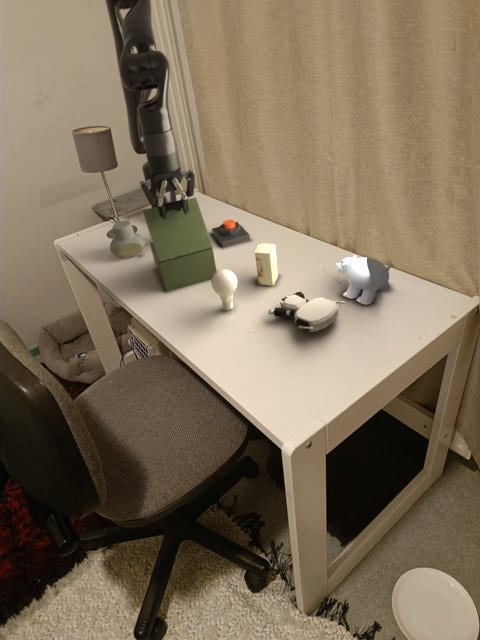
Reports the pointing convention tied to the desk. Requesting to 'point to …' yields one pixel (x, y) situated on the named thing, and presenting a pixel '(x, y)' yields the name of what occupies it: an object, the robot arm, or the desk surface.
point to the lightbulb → (225, 286)
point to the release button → (229, 224)
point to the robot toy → (307, 311)
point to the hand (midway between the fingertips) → (174, 215)
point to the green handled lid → (177, 230)
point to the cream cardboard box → (266, 264)
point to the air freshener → (126, 240)
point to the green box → (185, 268)
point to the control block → (230, 235)
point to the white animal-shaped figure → (364, 277)
